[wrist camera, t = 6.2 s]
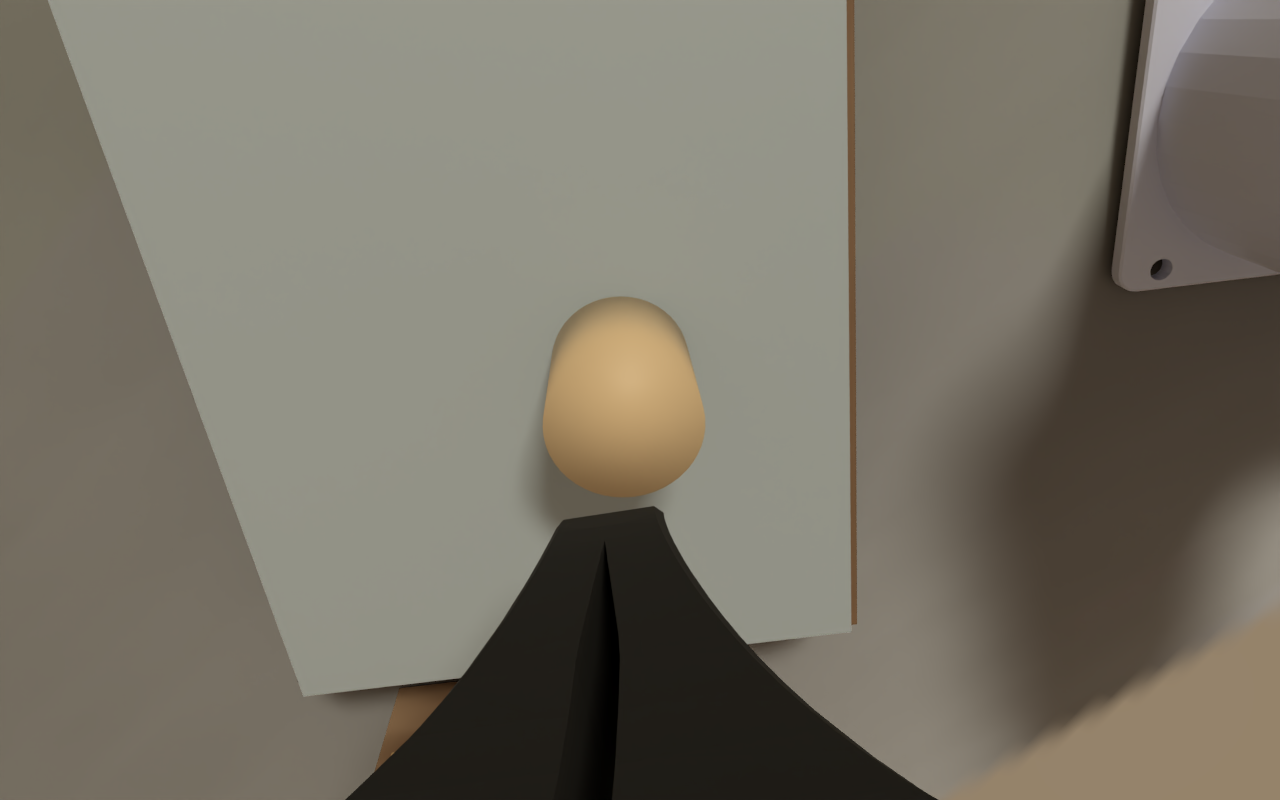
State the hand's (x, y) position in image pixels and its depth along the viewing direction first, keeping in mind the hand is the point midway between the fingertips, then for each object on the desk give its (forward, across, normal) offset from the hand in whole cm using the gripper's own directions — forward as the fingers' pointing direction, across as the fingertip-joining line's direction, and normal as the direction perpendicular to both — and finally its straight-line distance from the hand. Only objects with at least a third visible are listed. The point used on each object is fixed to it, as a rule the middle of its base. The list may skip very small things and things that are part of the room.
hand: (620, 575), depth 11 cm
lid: (+7, +2, 0) cm, 8 cm away
